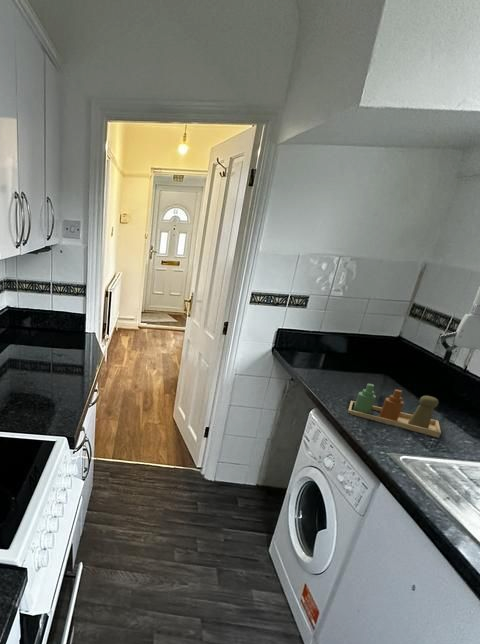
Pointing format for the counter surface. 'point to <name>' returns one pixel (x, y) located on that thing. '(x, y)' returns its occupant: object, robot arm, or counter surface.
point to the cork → (424, 412)
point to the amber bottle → (392, 406)
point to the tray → (400, 421)
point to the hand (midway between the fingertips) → (465, 365)
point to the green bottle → (365, 400)
